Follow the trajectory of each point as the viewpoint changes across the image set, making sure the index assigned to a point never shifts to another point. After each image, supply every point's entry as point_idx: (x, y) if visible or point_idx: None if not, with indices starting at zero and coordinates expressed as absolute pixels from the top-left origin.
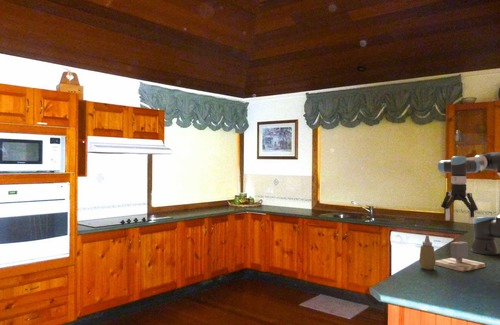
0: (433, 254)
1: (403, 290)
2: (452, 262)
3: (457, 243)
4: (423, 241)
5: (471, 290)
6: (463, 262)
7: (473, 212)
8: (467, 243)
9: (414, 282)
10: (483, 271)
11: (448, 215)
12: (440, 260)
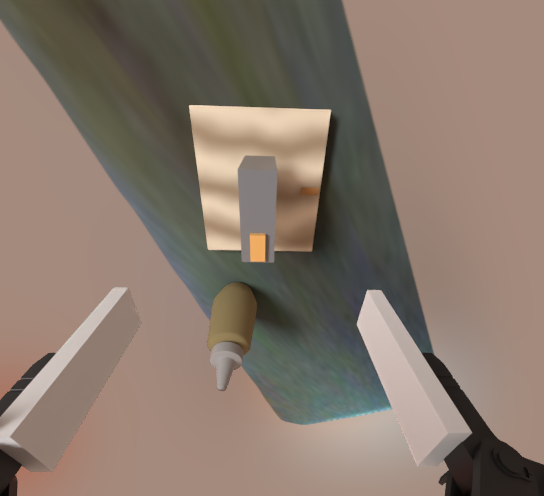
0: (253, 325)
1: (313, 404)
2: None
3: (265, 244)
4: (211, 363)
5: None
6: None
7: (476, 430)
8: (277, 170)
9: (297, 375)
10: (350, 188)
11: (104, 346)
12: (212, 226)
